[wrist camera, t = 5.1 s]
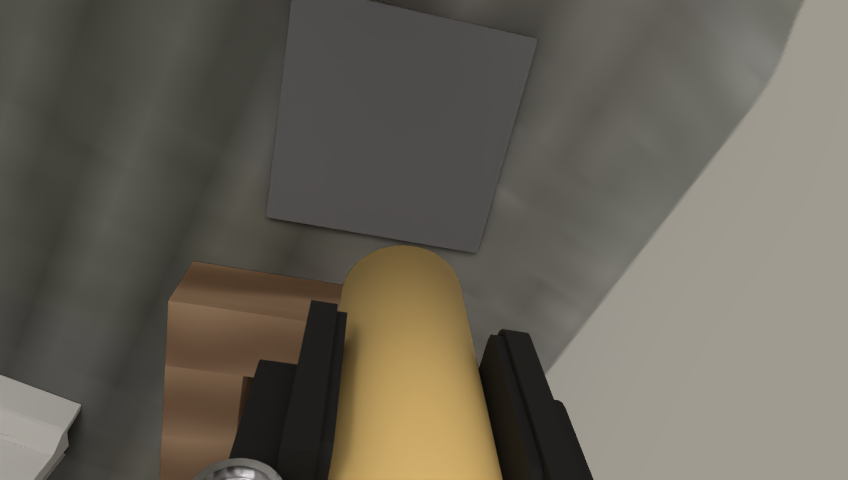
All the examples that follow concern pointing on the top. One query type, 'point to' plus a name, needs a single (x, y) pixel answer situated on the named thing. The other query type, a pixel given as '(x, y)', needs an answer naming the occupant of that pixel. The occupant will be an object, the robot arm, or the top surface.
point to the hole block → (225, 354)
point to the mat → (394, 121)
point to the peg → (409, 375)
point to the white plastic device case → (32, 430)
